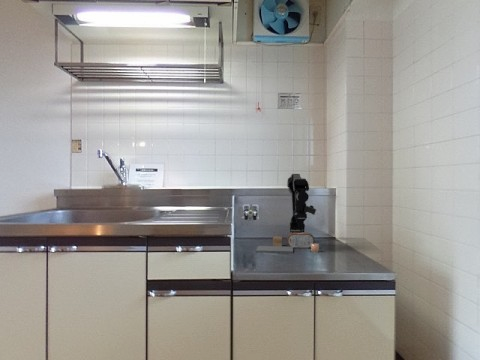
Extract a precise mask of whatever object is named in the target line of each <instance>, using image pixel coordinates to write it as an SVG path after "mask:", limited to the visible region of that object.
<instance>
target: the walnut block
mask: <svg viewBox="0 0 480 360" xmlns="http://www.w3.org/2000/svg"><path fill="white" fill-rule="evenodd" d="M272 246H283V237H282V236H273V237H272Z"/></svg>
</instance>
